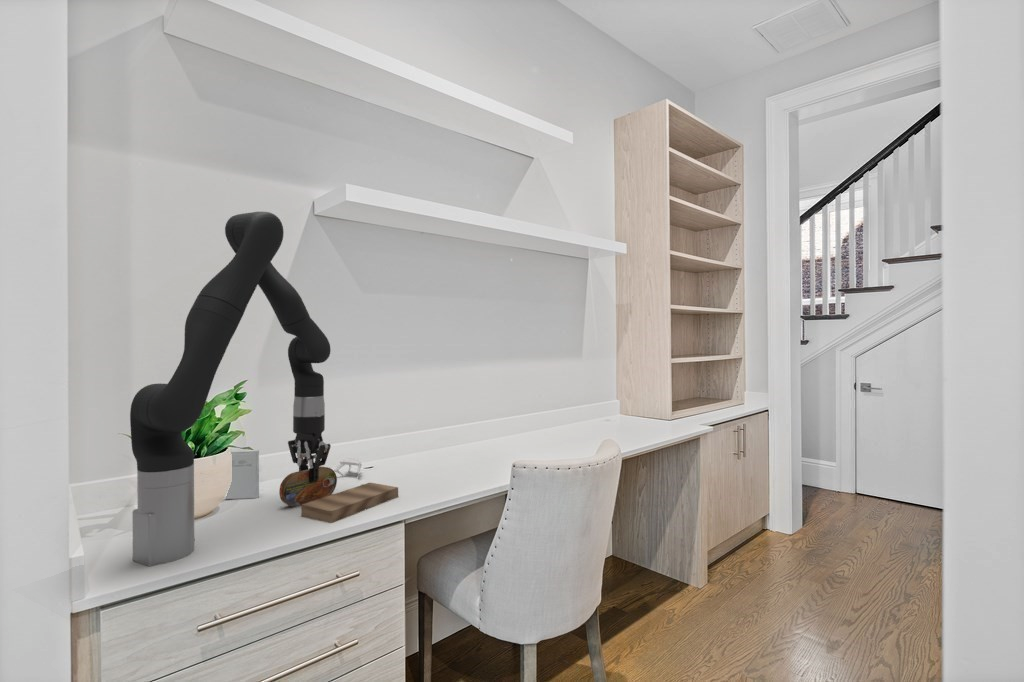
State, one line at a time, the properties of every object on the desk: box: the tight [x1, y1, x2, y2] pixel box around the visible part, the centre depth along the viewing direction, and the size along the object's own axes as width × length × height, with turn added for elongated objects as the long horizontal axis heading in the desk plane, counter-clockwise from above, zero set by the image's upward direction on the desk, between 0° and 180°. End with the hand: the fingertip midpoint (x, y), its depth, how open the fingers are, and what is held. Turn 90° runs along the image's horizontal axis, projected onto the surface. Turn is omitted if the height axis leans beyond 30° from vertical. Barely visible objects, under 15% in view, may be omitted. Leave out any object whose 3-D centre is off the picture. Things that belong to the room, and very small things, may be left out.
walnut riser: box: [300, 482, 399, 524], centre depth 131 cm, size 22×10×3 cm, turn 150°
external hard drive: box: [225, 449, 260, 500], centre depth 139 cm, size 2×8×12 cm, turn 96°
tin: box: [278, 466, 338, 508], centre depth 135 cm, size 15×3×8 cm, turn 143°
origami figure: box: [333, 457, 363, 480], centre depth 160 cm, size 12×8×5 cm
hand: (308, 481), depth 135 cm, fingers open, 3 cm apart
